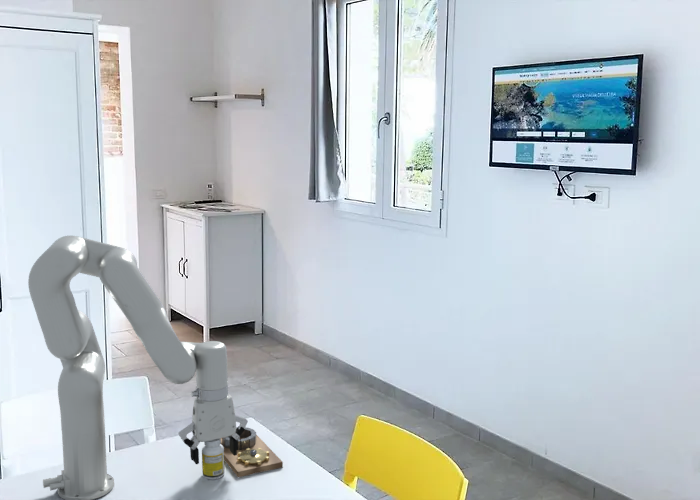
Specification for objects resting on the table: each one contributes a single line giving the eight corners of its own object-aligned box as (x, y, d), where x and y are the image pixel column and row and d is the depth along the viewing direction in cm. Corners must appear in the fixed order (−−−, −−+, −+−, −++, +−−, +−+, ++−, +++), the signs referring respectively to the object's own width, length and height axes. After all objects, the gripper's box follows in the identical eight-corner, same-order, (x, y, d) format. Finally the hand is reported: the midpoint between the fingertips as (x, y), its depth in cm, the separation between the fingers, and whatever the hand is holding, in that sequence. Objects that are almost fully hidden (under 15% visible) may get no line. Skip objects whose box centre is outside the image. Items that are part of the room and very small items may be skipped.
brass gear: (243, 468, 177) (243, 461, 177) (232, 455, 184) (232, 447, 184) (274, 461, 181) (274, 454, 181) (262, 448, 188) (262, 441, 188)
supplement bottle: (207, 468, 180) (206, 432, 178) (227, 471, 179) (227, 434, 177) (198, 479, 175) (198, 441, 173) (219, 481, 174) (218, 444, 172)
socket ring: (229, 452, 186) (228, 443, 185) (218, 439, 193) (218, 430, 193) (260, 445, 190) (260, 437, 190) (249, 433, 198) (248, 424, 197)
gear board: (238, 477, 176) (237, 471, 175) (210, 442, 195) (210, 437, 194) (282, 467, 181) (282, 461, 181) (251, 434, 200) (251, 429, 200)
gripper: (181, 404, 166) (184, 472, 169) (251, 390, 174) (253, 456, 177) (173, 393, 172) (176, 459, 175) (240, 381, 180) (242, 444, 183)
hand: (214, 457), depth 176 cm, fingers open, 9 cm apart
